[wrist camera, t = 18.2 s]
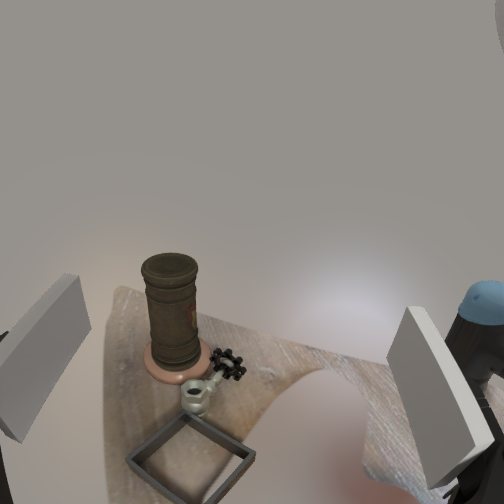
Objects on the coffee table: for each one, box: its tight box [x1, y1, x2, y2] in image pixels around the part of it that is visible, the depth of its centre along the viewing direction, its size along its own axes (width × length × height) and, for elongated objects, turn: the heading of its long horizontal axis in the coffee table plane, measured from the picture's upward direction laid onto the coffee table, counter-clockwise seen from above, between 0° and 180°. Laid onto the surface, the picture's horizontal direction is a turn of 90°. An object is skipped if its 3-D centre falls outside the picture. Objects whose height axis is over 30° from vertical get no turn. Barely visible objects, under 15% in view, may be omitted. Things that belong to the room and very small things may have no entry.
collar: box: [125, 409, 256, 504], centre depth 34 cm, size 12×12×3 cm
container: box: [141, 253, 201, 372], centre depth 49 cm, size 9×9×18 cm
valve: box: [181, 348, 247, 420], centre depth 46 cm, size 7×7×12 cm
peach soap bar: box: [144, 337, 211, 385], centre depth 54 cm, size 12×12×2 cm
